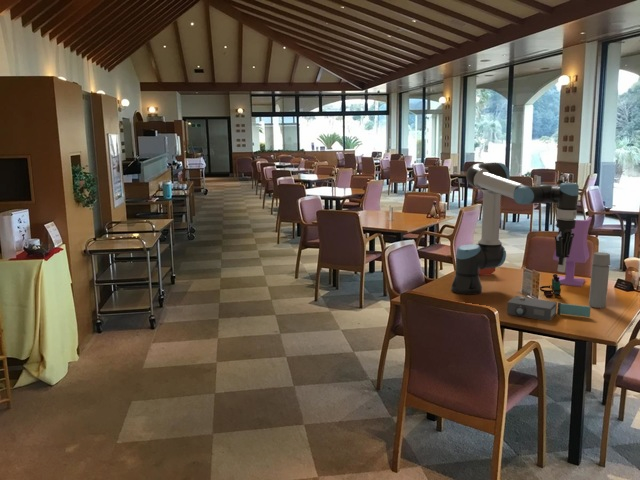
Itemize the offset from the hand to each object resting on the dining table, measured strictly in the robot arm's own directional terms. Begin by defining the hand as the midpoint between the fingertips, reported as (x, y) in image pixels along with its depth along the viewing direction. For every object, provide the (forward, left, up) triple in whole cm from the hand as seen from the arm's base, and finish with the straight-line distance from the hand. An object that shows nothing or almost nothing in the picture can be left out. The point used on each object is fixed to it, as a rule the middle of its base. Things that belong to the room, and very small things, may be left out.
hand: (561, 271), depth 249 cm
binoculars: (-9, +26, -19) cm, 34 cm away
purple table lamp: (-7, +59, -19) cm, 63 cm away
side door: (+6, -1, -19) cm, 20 cm away
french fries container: (-51, +52, -19) cm, 76 cm away
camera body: (-9, -9, -19) cm, 23 cm away
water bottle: (+13, +21, -19) cm, 31 cm away
